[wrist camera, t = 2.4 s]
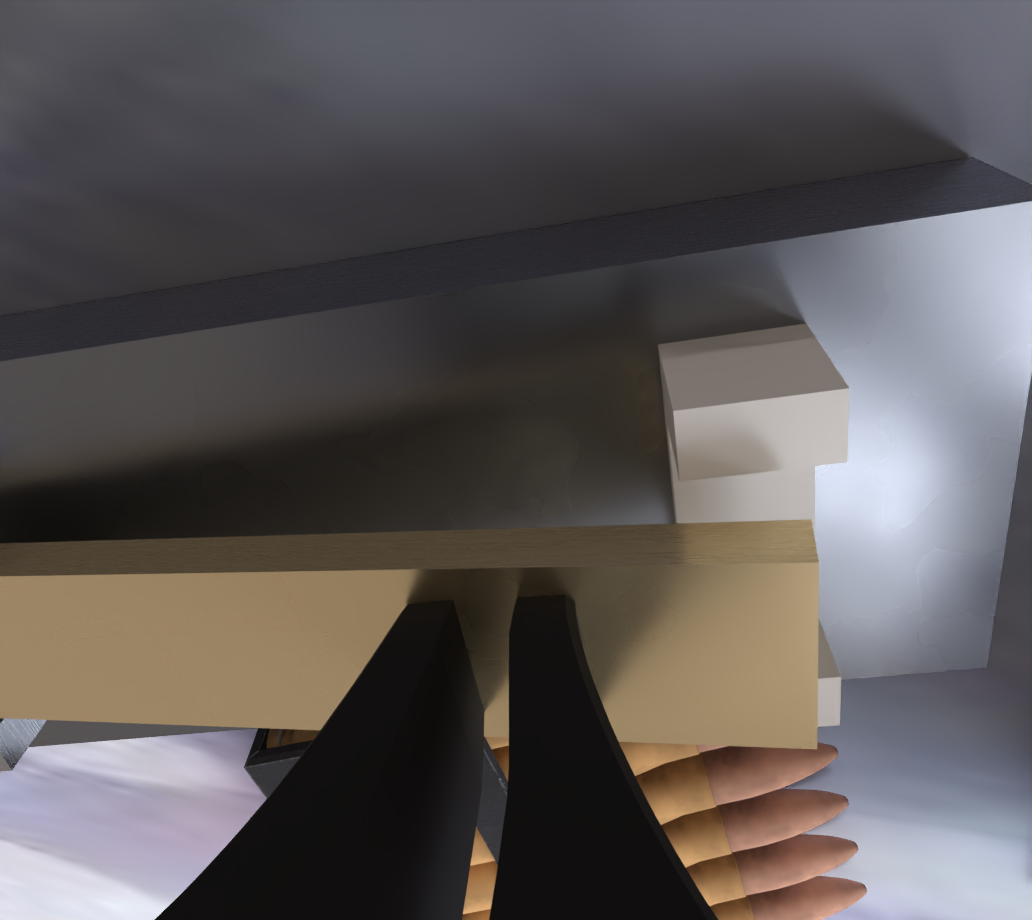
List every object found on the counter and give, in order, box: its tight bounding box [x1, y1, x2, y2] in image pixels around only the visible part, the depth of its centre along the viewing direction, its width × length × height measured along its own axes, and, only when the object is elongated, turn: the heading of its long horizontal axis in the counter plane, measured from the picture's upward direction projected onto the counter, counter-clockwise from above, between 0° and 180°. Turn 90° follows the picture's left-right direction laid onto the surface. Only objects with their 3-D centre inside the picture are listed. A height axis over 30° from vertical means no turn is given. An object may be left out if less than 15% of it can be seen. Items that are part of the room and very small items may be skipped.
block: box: [0, 157, 1032, 771], centre depth 14 cm, size 19×8×4 cm, turn 100°
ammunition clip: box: [244, 728, 867, 920], centre depth 20 cm, size 11×2×12 cm
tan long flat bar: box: [0, 519, 819, 749], centre depth 12 cm, size 15×3×1 cm, turn 100°
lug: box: [658, 324, 849, 727], centre depth 12 cm, size 2×6×2 cm, turn 10°
